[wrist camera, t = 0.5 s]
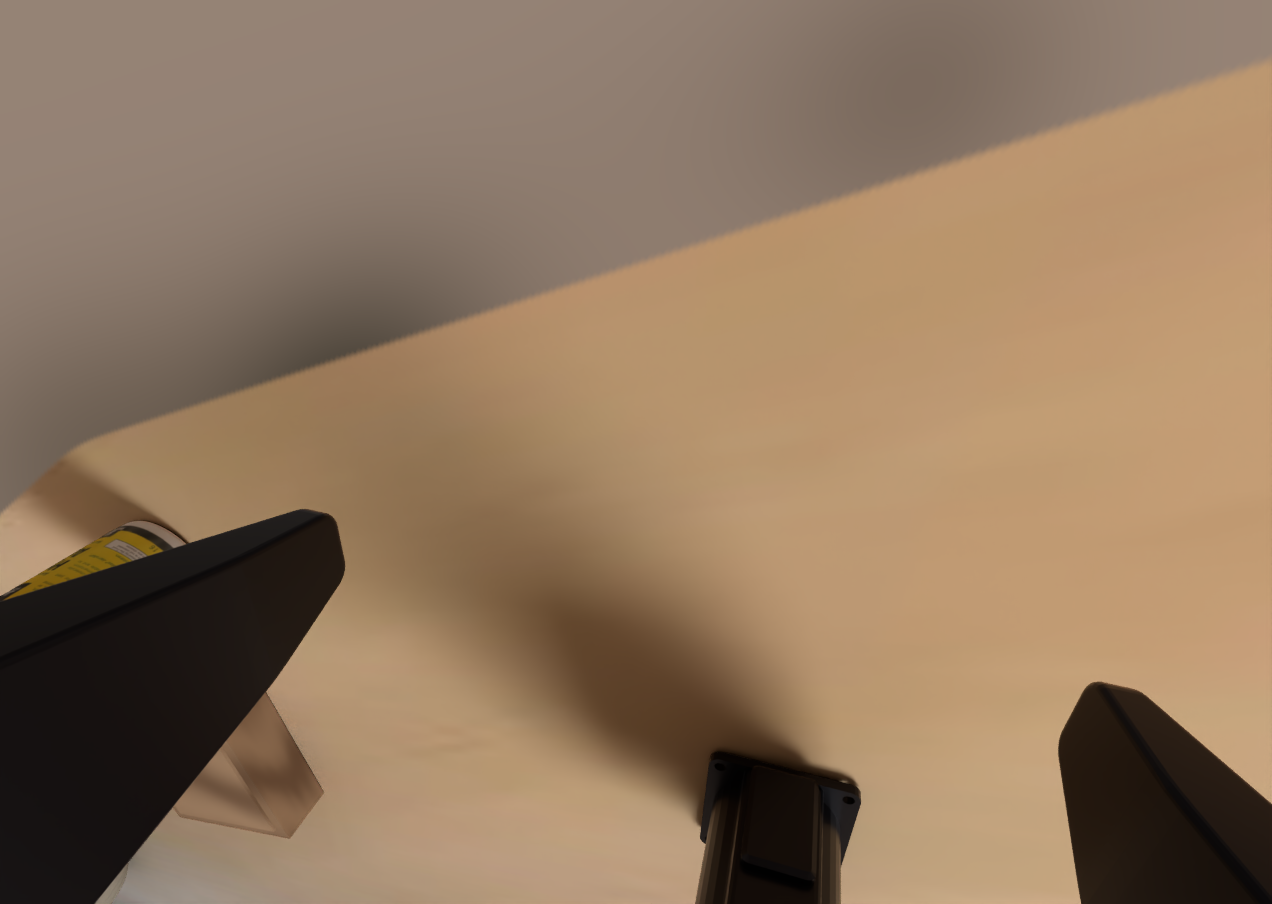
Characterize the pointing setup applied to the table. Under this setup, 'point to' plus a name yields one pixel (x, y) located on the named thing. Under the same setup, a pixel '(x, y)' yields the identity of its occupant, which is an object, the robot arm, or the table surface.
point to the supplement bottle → (104, 555)
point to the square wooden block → (254, 779)
